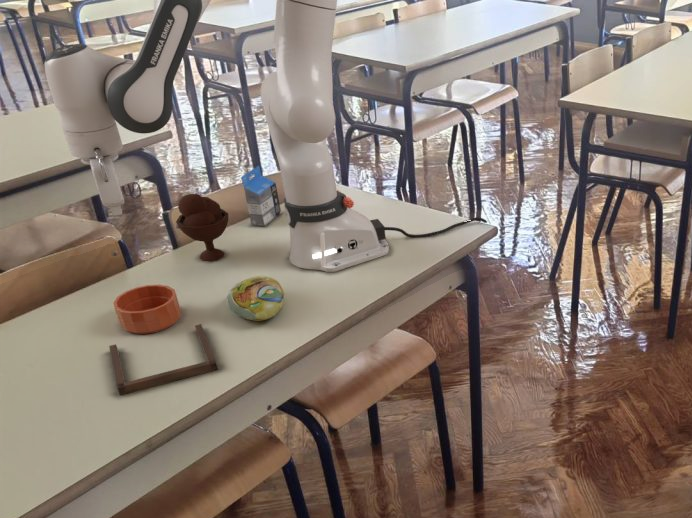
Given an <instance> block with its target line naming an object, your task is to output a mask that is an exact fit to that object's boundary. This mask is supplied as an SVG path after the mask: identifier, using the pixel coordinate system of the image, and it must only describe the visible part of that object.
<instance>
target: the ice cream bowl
mask: <svg viewBox="0 0 692 518" xmlns="http://www.w3.org/2000/svg"><path fill="white" fill-rule="evenodd" d="M177 208H178V211H179V213H180V215H179V216H178V218H177V219H176V221H175V223H176V225H177V227H178V229H179V230H180V231H181V232H182V233H183V234H184V235H186V236H187V237H188V238H190V239H192V240H193V241H197V242H203V243H204V245H205V250H204V251H202V252H201V253H200V255H199V259H200V260H201V261H202V262H208V263H209V262H215V261H219V260H221V259H223V258H224V257H225V255H226V253H225V252H224V251H223V250H222V249H220V248H215V245H214V240H216V239H218V238H220V237H221V236H222V235H223V233H225V231H226V230H227V229H226V228H227V227H228V224H229V220H230V219H229V212H227V211H226V210H224V209H223V208H221V205H220V204H219V202H217V201H215V200H214V199H213V198H210V197H208V196H202V195H200V194H197V193H187V194H185V195H184V196H183V197H181V198H180V199H179V203H178V207H177Z"/></svg>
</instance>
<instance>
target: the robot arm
mask: <svg viewBox="0 0 692 518" xmlns="http://www.w3.org/2000/svg"><path fill="white" fill-rule="evenodd" d="M211 1H212V0H154V1H153V2H154V3H153V5H154V6H153V13H152V18H151V21H150V24H149V27H148V29H147V30H146V34H145V36H144V39H143V41H142V43H141V45H140V49H139V51H138V54H137V56H136V59H129V58H122V57H117V56H113V55H109V54H106V53H103V52H101V51H98V50H96V49H94V48H93V47H90V46H89V45H87V44H83V43H76V44H74V43H73V44H67V45H64V46H61V47H58V48H55V49H54V50H52V51H50V52H49V53H48V54H47V56H46V58H45V60H44V73H45V78H46V82H47V85H48V89H49V93H50V95H51V98H52V102H53V104H54V106H55V108H56V109H57V111H58V112H59V115H60V118H61V128H62V131H63V134H64V137H65V140H66V143H67V146H68V149H69V151H70V155H72V156H73V157H75V158H80V162H81V163H82V164H84V165H89V166H90V169H91V173H92V176H93V179H94V182H95V185H96V188H97V192H98V195H99V198H100V201H101V203H102V205H103V206H104V207H105V208H110V211H111V214H112V215H113V216H121V215H122V214H123V210H122V206H123V205H124V204H125V197H124V195H123V192H122V188H121V185H120V181H119V178H118V175H117V172H116V169H115V161H117V160H118V159H119V157H120V156H119V154H118V153H119V152H121V151H122V150H123V148H124V145H123V141H122V138H121V135H120V132H119V128H118V125H120V126H121V127H122V128H124V129H126V130H127V131H129V132H133V133H137V134H142V135H143V134H144V135H145V134H152V133H155V132H158V131H160V130H162V129H163V128H164V127H165V126H166V125H167V124H168V123H169V121H170V119H171V117H172V113H173V88H174V87H173V86H174V81H175V78H176V76H177V73H178V71H179V68H180V66H181V63H182V61H183V58H184V55H185V54H186V51H187V48H188V46H189V44H190V41H191V39H192V36H193V34H194V31H195V29H196V27H197V25H198V24H199V22H200V20H201V18H202V16H203V15H204V13H205V11H206V10H207V8H208V6H209V5H210V2H211ZM275 4H276V5H275V17H274V27H273V44H274V51H275V63H276V64H275V65H276V71H273V72H270V73H269V74H268V75H266V77H265V78H264V79H263V81H262V83H261V85H260V93H259V95H260V100H261V103H262V107H263V112H264V115H265V120H266V124H267V127H268V131H269V134H270V138H271V143H272V145H273V149H274V152H275V155H276V159H277V162H278V167H279V171H280V176H281V182H282V187H283V192H284V193H283V194H284V197H283V203H284V213H285V217H286V222H287V224H288V226H289V237H290V241H289V242H290V243H289V245H290V247H289V256H288V260H289V262H290V263H291V264H292V265H293V266H294V267H298V268H301V269H304V270H318V271H322V272H325V273H335V272H338V271H341V270H344V269H347V268H350V267H354V266H356V265H359V264H363V263H365V262H369V261H371V260H375V259H378V258H381V257H384V256H386V255H388V254H389V252H390V247H389V243H388V241H387V240H386V239H387V237H386V231H395V232H399V233H401V234H402V235H404V236H405V237H407V238H413V239H416V238H417V239H418V238H427V237H428V238H429V237H432V236H437V235H441V234H443V233H446V232H449V231H452V230H453V229H454V228H455V229H456V228H457V227H460V226H464V225H467V224H469V223H471V222H475V221H480V222H482V223H484V224H486V223H488V220H486V219H485V218H483V217H478V216H477V217H471V218H469V219H466V220H463V221H461V222H457V223H454V224H451V225H450V226H447V227H446V228H443V229H441V230H436V231H432V232H428V233H422V234H413V233H408V232H406V231H405V230H404V229H402V228H399V227H393V226H385V225H384V224H383V223H382V222H381V221H380V220H379V219H378V218H376V219H375V218H374V219H370V218H368V217H367V216H365V215H364V214H362V213H360V212H359V211H356V210H354V209H353V208H354V205H355V202H354V200H352V198H351V197H349V196H347V195H346V194H345V193H344V192H341V191H340V190H339V189H337V184H336V177H335V169H334V162H333V158H332V155H331V153H330V150H329V147H328V144H327V141H326V139H328V138H329V137H330V136H331V134H332V133H333V131H334V129H335V126H336V112H335V108H334V89H333V88H334V87H333V86H334V85H333V84H334V83H333V63H332V62H333V61H332V59H333V58H332V57H333V56H332V53H333V41H334V32H335V23H336V14H337V5H338V0H276V3H275ZM467 220H471V221H467ZM464 221H467V222H464Z"/></svg>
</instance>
